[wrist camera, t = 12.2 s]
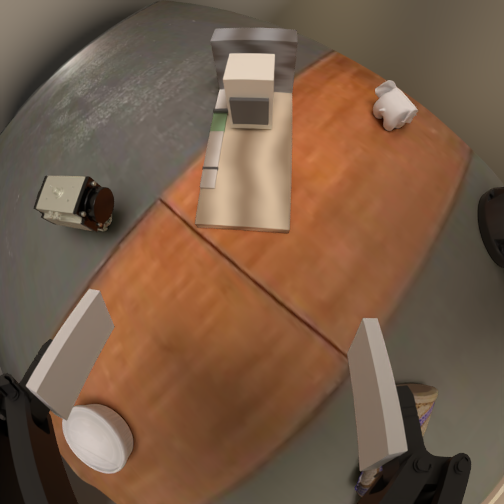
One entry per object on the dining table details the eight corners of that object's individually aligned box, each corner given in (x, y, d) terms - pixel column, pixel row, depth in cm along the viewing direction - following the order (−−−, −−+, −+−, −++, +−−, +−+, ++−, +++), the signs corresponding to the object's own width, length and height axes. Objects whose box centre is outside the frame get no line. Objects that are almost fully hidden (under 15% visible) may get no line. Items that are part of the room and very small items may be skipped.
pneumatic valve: (79, 203, 38) (35, 172, 26) (135, 209, 37) (93, 172, 25) (69, 235, 36) (20, 210, 25) (125, 246, 36) (76, 219, 24)
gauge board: (291, 84, 41) (296, 30, 29) (288, 233, 35) (301, 192, 23) (224, 82, 42) (215, 29, 30) (197, 227, 36) (167, 186, 24)
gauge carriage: (273, 95, 38) (275, 48, 29) (271, 132, 37) (273, 83, 27) (218, 94, 39) (209, 49, 29) (210, 130, 37) (197, 83, 27)
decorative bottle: (381, 381, 30) (404, 393, 24) (423, 381, 30) (449, 390, 23) (330, 516, 25) (339, 539, 18) (371, 512, 24) (383, 532, 18)
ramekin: (98, 460, 28) (82, 472, 23) (70, 401, 31) (51, 408, 25) (152, 458, 29) (138, 474, 23) (121, 393, 31) (102, 403, 26)
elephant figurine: (419, 130, 39) (435, 107, 32) (384, 141, 38) (400, 115, 31) (394, 100, 40) (407, 76, 33) (358, 108, 40) (369, 81, 33)
